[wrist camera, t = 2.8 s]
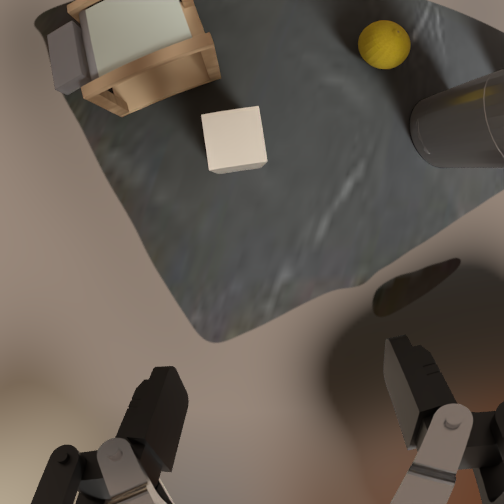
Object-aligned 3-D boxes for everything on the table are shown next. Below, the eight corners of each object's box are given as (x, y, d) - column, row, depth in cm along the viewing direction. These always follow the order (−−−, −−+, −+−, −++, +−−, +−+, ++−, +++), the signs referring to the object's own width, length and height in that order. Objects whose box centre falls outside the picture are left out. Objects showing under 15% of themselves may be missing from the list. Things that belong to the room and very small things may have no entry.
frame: (192, 0, 29) (179, -45, 19) (221, 78, 32) (213, 43, 22) (101, 38, 30) (66, 5, 20) (121, 117, 32) (83, 98, 22)
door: (172, -19, 22) (167, -31, 20) (195, 47, 24) (191, 36, 22) (57, 35, 23) (46, 28, 20) (69, 104, 25) (57, 99, 22)
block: (254, 127, 33) (258, 105, 23) (260, 167, 34) (267, 161, 24) (213, 133, 33) (201, 114, 23) (218, 174, 34) (209, 170, 24)
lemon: (352, 31, 30) (376, 1, 23) (393, 47, 31) (423, 23, 23) (346, 67, 31) (370, 42, 24) (388, 83, 32) (420, 64, 24)
